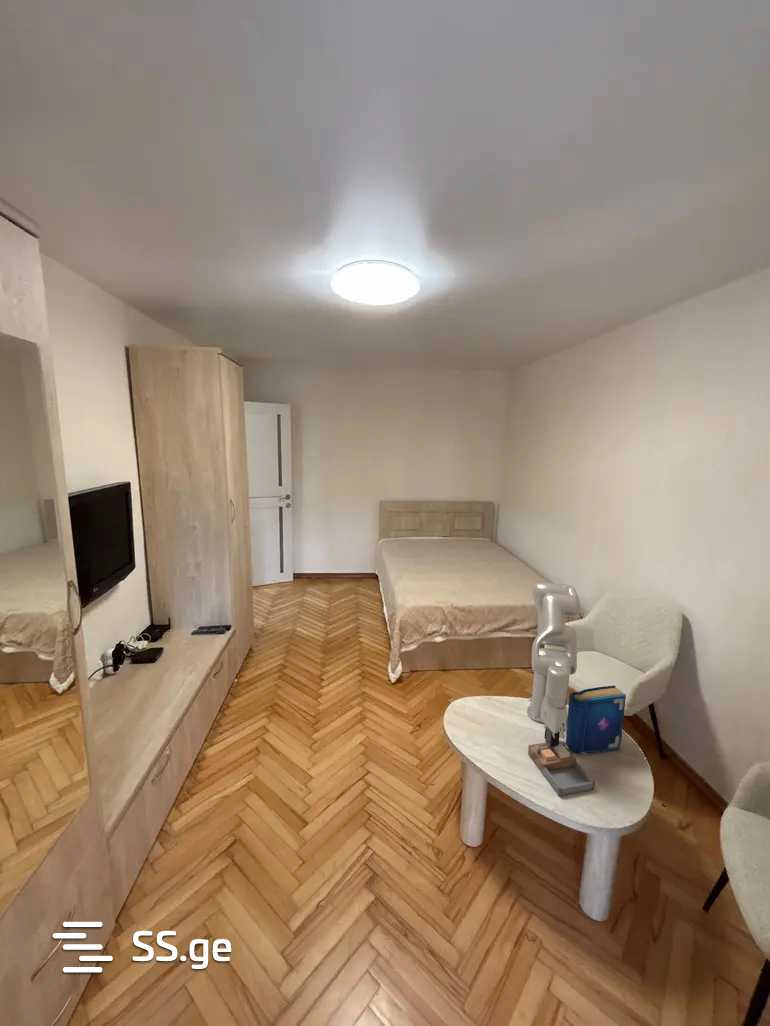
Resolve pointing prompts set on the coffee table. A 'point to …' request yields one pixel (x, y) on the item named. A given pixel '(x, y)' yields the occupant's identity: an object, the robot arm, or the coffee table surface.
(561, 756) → the tile cream
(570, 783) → the box
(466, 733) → the coffee table surface
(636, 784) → the coffee table surface
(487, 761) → the coffee table surface
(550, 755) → the tile terracotta
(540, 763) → the brown tray
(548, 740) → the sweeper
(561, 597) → the robot arm
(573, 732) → the book
